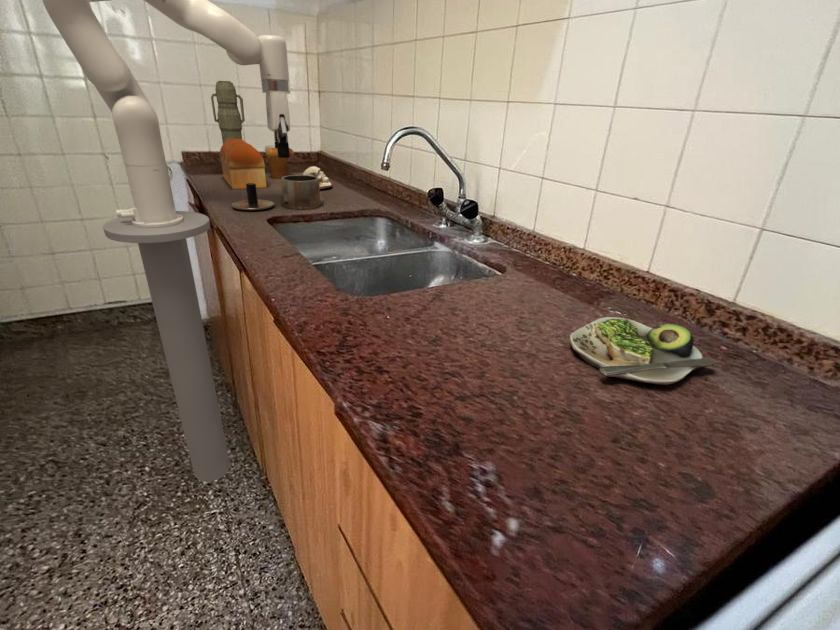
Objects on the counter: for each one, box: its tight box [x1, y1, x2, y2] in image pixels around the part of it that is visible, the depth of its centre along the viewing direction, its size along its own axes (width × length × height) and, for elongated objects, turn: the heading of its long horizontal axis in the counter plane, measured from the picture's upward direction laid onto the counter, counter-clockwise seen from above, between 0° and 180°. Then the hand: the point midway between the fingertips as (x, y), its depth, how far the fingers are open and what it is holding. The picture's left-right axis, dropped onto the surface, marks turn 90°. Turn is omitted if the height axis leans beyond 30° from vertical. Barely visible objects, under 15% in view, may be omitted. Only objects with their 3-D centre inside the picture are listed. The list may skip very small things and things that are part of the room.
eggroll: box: [265, 147, 295, 160], centre depth 133 cm, size 8×3×3 cm, turn 116°
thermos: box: [210, 80, 246, 145], centre depth 185 cm, size 9×12×35 cm
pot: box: [280, 174, 321, 210], centre depth 143 cm, size 11×11×8 cm
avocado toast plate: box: [569, 316, 717, 386], centre depth 66 cm, size 19×18×5 cm
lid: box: [231, 183, 275, 212], centre depth 138 cm, size 12×12×7 cm
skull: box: [302, 165, 333, 190], centre depth 171 cm, size 12×10×10 cm
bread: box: [219, 138, 267, 190], centre depth 172 cm, size 25×12×15 cm, turn 29°
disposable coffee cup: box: [264, 144, 289, 179], centre depth 186 cm, size 10×10×12 cm
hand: (282, 156), depth 133 cm, fingers closed on eggroll, 3 cm apart
